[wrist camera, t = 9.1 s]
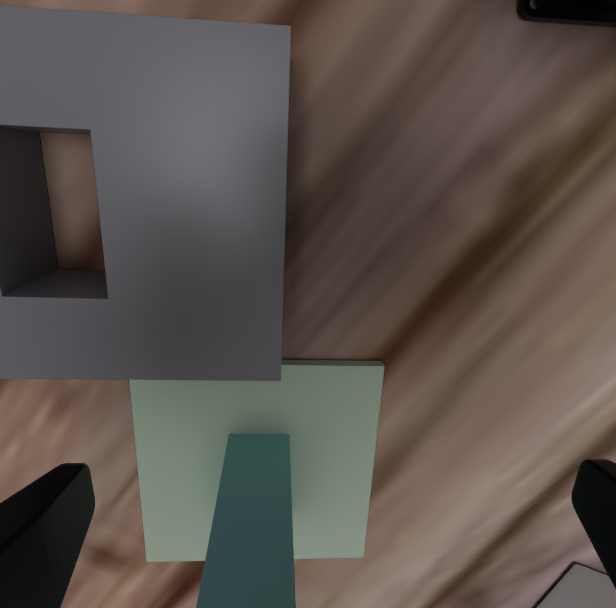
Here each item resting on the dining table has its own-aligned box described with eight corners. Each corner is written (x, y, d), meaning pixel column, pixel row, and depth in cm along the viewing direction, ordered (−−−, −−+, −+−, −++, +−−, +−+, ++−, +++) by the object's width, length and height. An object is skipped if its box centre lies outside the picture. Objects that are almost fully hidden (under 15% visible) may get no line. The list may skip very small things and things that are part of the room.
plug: (289, 434, 21) (295, 614, 13) (286, 513, 23) (289, 721, 14) (228, 434, 21) (194, 617, 13) (229, 514, 23) (199, 725, 14)
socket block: (288, 56, 17) (290, 26, 13) (280, 340, 20) (281, 381, 17) (-153, 28, 16) (-293, -16, 12) (-76, 334, 19) (-162, 376, 15)
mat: (381, 360, 21) (384, 366, 21) (361, 548, 25) (363, 557, 24) (132, 357, 20) (127, 363, 20) (149, 552, 24) (146, 561, 23)
